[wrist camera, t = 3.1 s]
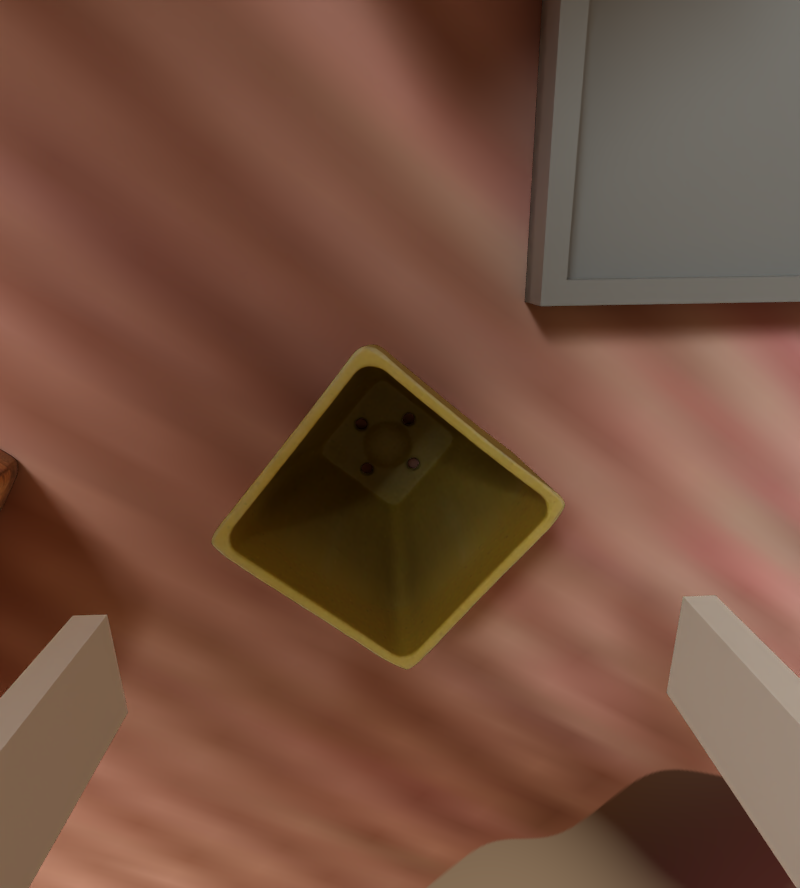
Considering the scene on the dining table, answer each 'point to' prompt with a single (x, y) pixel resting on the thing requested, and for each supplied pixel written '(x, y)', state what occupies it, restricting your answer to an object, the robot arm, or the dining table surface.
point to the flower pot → (387, 511)
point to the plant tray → (666, 153)
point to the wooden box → (6, 475)
